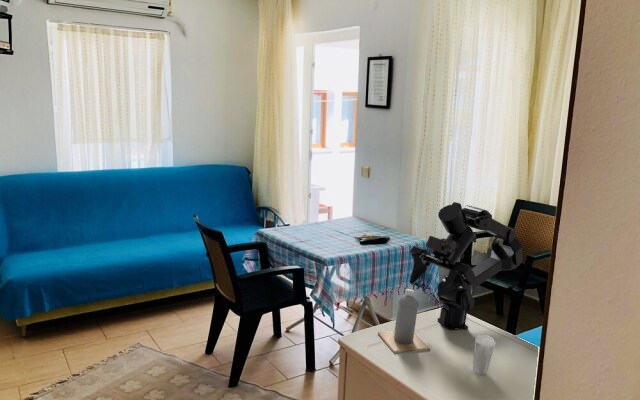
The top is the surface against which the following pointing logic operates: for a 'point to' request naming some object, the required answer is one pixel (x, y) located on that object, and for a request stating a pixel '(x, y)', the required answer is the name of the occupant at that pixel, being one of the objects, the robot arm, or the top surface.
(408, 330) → the grey bottle
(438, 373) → the top surface
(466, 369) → the top surface
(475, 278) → the robot arm
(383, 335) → the cork mat
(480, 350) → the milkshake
